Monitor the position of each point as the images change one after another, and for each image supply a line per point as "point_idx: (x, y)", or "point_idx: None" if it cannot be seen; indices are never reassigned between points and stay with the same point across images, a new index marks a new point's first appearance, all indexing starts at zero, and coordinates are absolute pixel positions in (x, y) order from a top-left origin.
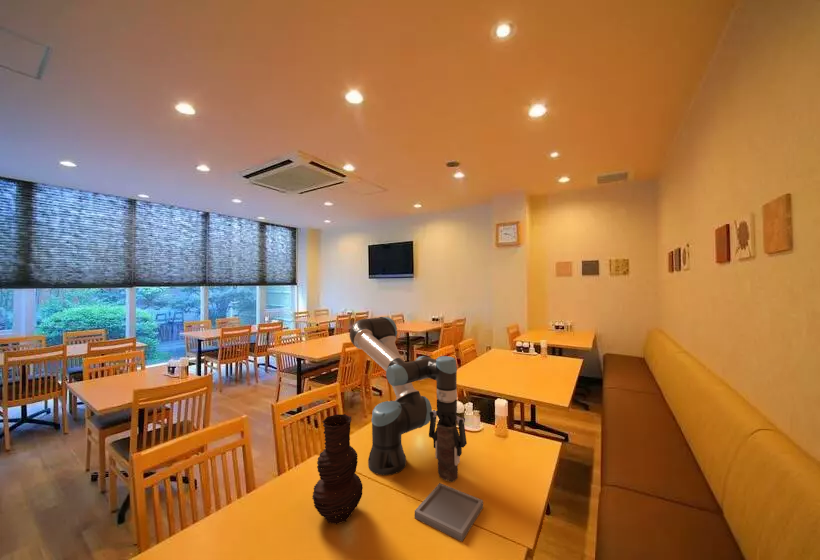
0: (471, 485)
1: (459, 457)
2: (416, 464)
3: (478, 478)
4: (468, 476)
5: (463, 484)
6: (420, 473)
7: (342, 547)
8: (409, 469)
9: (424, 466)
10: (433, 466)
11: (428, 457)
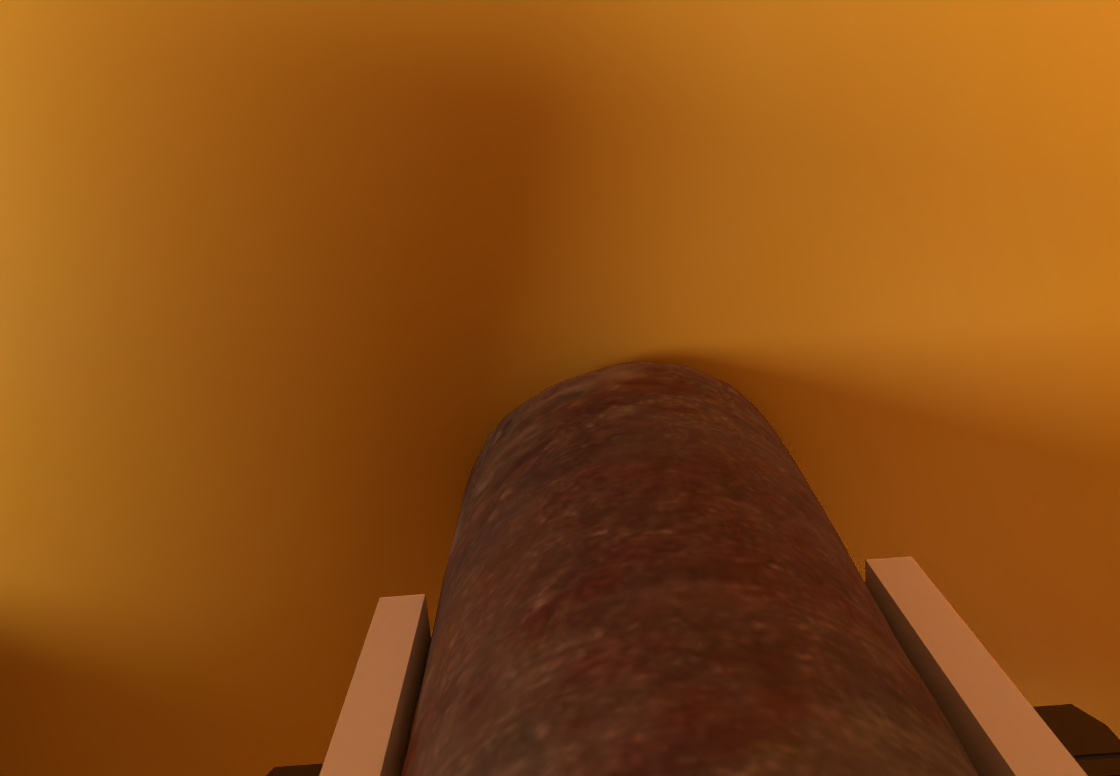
0: (1041, 469)
1: (954, 618)
2: (8, 550)
3: (1082, 240)
4: (912, 297)
5: (924, 521)
6: (233, 691)
7: None
8: (29, 714)
9: (151, 514)
10: (269, 422)
11: (3, 243)
